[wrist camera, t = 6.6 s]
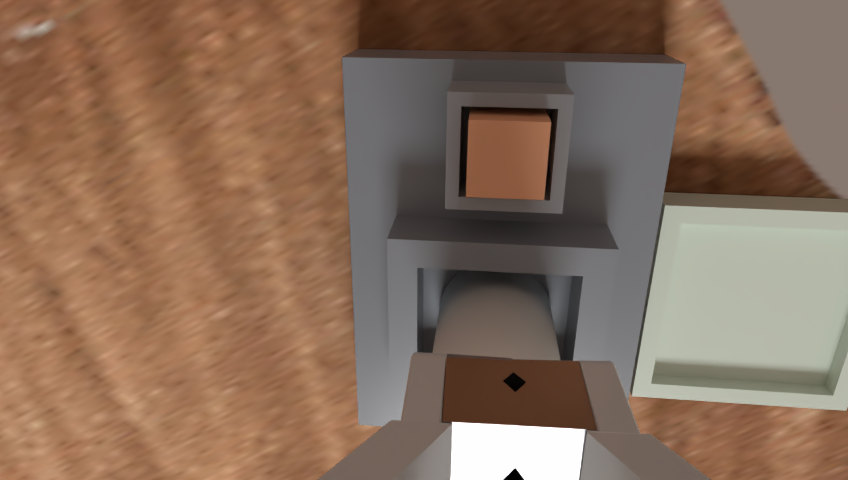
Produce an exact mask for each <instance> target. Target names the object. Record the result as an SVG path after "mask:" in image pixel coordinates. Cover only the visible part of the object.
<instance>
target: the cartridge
mask: <svg viewBox="0 0 848 480" xmlns="http://www.w3.org/2000/svg"><path fill="white" fill-rule="evenodd" d="M433 353H445V355H446V359H447V354H458V355H473V356H488V357H503V358H512V359H529V360H560V355H559V349H558V344H557V338H556V333H555V327H554V322H553V316H552V311H551V305H550V301H549V297H548V295H547V292H546V290H545V289H544V287H543V285H542V284H541V283H540V282H539V280H538V279H537V278H535V277H534V276H533V275H532V274H529V273H510V272H490V271H470V270H463V271H462V272H460V273H459V274H458V275H456V276H455V277H454V278H453V279H452V280H451V281H450V282H449V284H448V285H447V287H446V288H445V290H444V292H443V294H442V298H441V301H440V308H439V314H438V321H437V327H436V333H435V340H434V346H433Z"/></svg>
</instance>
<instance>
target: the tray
mask: <svg viewBox="0 0 848 480" xmlns="http://www.w3.org/2000/svg"><path fill="white" fill-rule="evenodd" d="M630 392H631V395H632V396H638V397H653V398H667V399H682V400H697V401H712V402H727V403H742V404H756V405H771V406H786V407H801V408H816V409H830V410H845V411H846V410H847V407H848V199H830V198H804V197H777V196H751V195H725V194H698V193H672V192H664V196H663V202H662V207H661V213H660V219H659V225H658V231H657V236H656V242H655V248H654V254H653V260H652V265H651V271H650V277H649V283H648V289H647V294H646V300H645V306H644V312H643V318H642V323H641V329H640V335H639V341H638V347H637V352H636V358H635V364H634V370H633V376H632V381H631V387H630Z"/></svg>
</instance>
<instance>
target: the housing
mask: <svg viewBox="0 0 848 480" xmlns="http://www.w3.org/2000/svg"><path fill="white" fill-rule="evenodd" d="M342 65H343V87H344V110H345V132H346V154H347V176H348V198H349V220H350V243H351V265H352V287H353V309H354V331H355V354H356V376H357V398H358V420H359V425H370V426H384V425H386V424H387V423H388V422H389V421H390V420H401V416H402V410H403V404H404V398H405V392H406V386H407V380H408V374H409V368H410V361H411V356H412V355H413V353H414V352H422V353H433V346H434V340H435V333H436V327H437V321H438V314H439V308H440V301H441V298H442V294H443V292H444V290H445V288H446V287H447V285H448V284H449V282H450V281H451V280H452V279H453V278H454V277H455V276H456V275H458V274H459V273H460V272H462V271H463V270H470V271H490V272H510V273H529V274H532V275H533V276H534V277H535V278H537V279H538V280H539V282H540V283H541V284H542V285H543V287H544V289H545V290H546V292H547V295H548V297H549V301H550V305H551V311H552V316H553V322H554V327H555V333H556V338H557V344H558V349H559V355H560V360H563V361H577V360H589V361H611V362H612V363H614V364H615V367H616V370H617V372H618V375H619V378H620V380H621V383H622V386H623V388H624V391H625V394H626V397H627V399H629V393H630V387H631V381H632V376H633V370H634V364H635V358H636V352H637V347H638V341H639V335H640V329H641V323H642V318H643V312H644V306H645V300H646V294H647V289H648V283H649V277H650V271H651V265H652V260H653V254H654V248H655V242H656V236H657V231H658V225H659V219H660V213H661V207H662V202H663V196H664V190H665V184H666V178H667V172H668V167H669V161H670V155H671V149H672V143H673V138H674V132H675V126H676V120H677V114H678V109H679V103H680V97H681V91H682V85H683V80H684V74H685V68H686V64H685V63H683V62H681V61H679V60H676V59H674V58H672V57H669V56H667V55H662V54H607V53H552V52H497V51H442V50H387V49H357V50H355V51H353V52H351V53H349V54H347V55H345V56H343V57H342ZM471 107H507V108H545V109H546V111H547V113H548V116H549V118H550V120H551V131H550V142H549V153H548V164H547V175H546V186H545V197H544V200H528V199H503V198H478V197H466V177H467V150H468V122H469V114H470V108H471Z"/></svg>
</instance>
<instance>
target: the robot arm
mask: <svg viewBox="0 0 848 480" xmlns="http://www.w3.org/2000/svg"><path fill="white" fill-rule="evenodd" d="M318 480H711V479H709V478H708V477H707V476H705V475H704V474H703V473H702V472H700V471H699V470H698V469H696V468H695V467H694V466H692V465H691V464H690V463H688V462H687V461H686V460H684V459H683V458H682V457H680V456H679V455H678V454H676V453H675V452H674V451H672V450H671V449H670V448H668V447H667V446H666V445H664V444H663V443H662V442H660V441H659V440H658V439H656V438H655V437H654V436H652V435H651V434H640V432H639V429H638V426H637V424H636V421H635V418H634V415H633V413H632V410H631V407H630V405H629V402H628V399H627V397H626V394H625V391H624V388H623V386H622V383H621V380H620V378H619V375H618V372H617V370H616V367H615V364H614V363H612V362H611V361H589V360H577V361H563V360H529V359H512V358H503V357H488V356H473V355H458V354H447V359H446V355H445V353H422V352H414V353H413V355H412V356H411V361H410V368H409V374H408V380H407V386H406V392H405V398H404V404H403V410H402V416H401V420H390V421H389V422H388V423H387V424H386V425H384V426H383V427H382V428H381V429H379V430H378V431H377V432H376V433H374V434H373V435H372V436H371V437H370V438H368V439H367V440H366V441H365V442H363V443H362V444H361V445H360V446H358V447H357V448H356V449H355V450H353V451H352V452H351V453H350V454H349V455H347V456H346V457H345V458H344V459H342V460H341V461H340V462H339V463H337V464H336V465H335V466H334V467H333V468H331V469H330V470H329V471H328V472H326V473H325V474H324V475H323V476H321V477H320V478H319V479H318Z"/></svg>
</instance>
